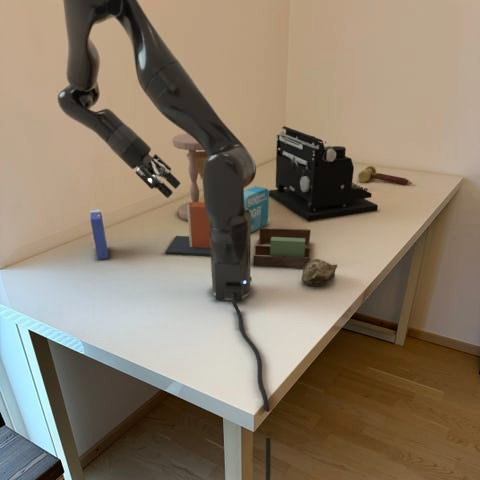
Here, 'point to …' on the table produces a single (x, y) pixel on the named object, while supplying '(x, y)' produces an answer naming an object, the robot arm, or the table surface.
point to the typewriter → (316, 179)
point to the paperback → (287, 246)
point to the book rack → (266, 260)
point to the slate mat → (186, 247)
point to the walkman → (99, 234)
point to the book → (198, 225)
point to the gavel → (380, 176)
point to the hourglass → (191, 168)
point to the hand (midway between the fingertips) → (174, 190)
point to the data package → (257, 206)
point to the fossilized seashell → (318, 272)
